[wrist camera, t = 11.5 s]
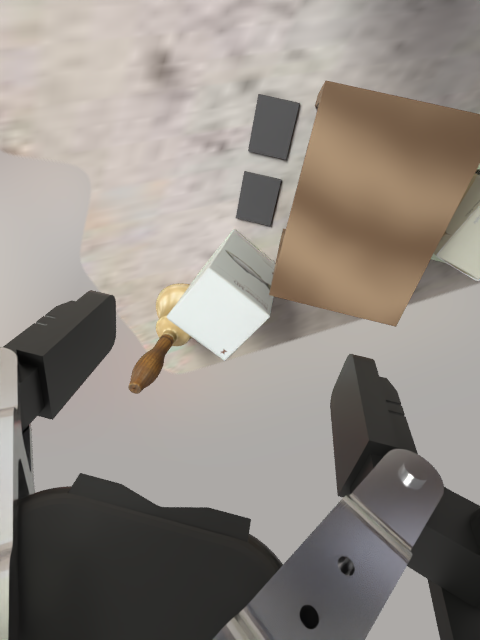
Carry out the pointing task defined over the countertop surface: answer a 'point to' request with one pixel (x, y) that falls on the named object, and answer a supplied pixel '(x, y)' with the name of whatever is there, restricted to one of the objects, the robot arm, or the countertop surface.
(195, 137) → the countertop surface
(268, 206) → the pair of grey pads
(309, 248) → the brown hollow box
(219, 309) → the supplement box
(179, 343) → the hand bell
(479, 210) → the skincare box
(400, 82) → the countertop surface
